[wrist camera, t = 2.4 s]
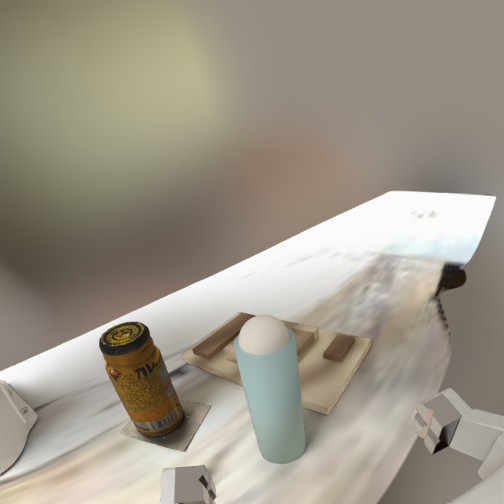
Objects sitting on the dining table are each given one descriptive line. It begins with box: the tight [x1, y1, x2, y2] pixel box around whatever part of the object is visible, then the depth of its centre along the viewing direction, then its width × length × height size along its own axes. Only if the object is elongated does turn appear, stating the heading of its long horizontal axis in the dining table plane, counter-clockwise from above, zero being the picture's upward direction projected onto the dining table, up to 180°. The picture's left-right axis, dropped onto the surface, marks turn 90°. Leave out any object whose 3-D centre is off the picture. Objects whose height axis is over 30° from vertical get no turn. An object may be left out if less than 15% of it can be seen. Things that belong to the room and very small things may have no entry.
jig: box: [181, 312, 371, 415], centre depth 40 cm, size 22×13×3 cm, turn 54°
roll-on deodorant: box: [234, 315, 306, 464], centre depth 24 cm, size 4×4×15 cm
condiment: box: [99, 322, 210, 451], centre depth 29 cm, size 7×8×12 cm
